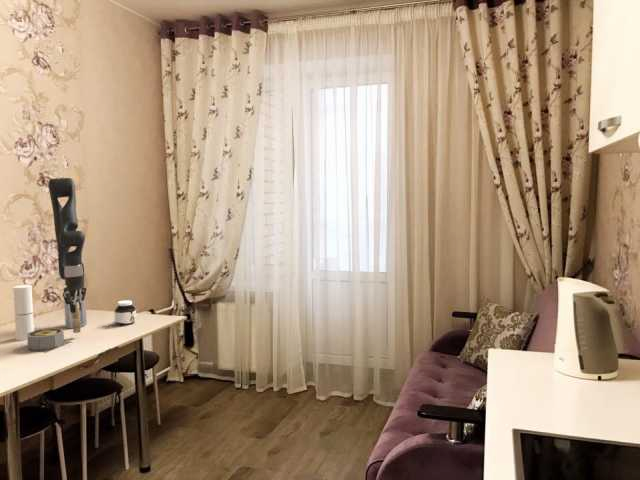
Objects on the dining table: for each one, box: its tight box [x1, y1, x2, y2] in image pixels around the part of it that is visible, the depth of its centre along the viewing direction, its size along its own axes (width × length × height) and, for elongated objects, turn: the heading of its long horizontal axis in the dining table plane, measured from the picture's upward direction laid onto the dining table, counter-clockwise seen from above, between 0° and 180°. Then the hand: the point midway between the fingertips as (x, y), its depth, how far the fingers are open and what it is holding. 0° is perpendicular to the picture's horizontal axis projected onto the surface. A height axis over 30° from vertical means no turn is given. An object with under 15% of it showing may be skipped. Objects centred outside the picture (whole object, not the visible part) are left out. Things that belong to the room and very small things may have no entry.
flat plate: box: [18, 340, 73, 353], centre depth 218 cm, size 16×14×1 cm
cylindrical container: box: [13, 284, 35, 342], centre depth 228 cm, size 7×7×25 cm
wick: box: [72, 302, 81, 334], centre depth 229 cm, size 3×3×14 cm
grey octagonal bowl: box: [26, 327, 65, 351], centre depth 218 cm, size 14×14×6 cm
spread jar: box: [114, 300, 137, 327], centre depth 260 cm, size 12×11×12 cm
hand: (75, 311), depth 229 cm, fingers closed on wick, 3 cm apart
